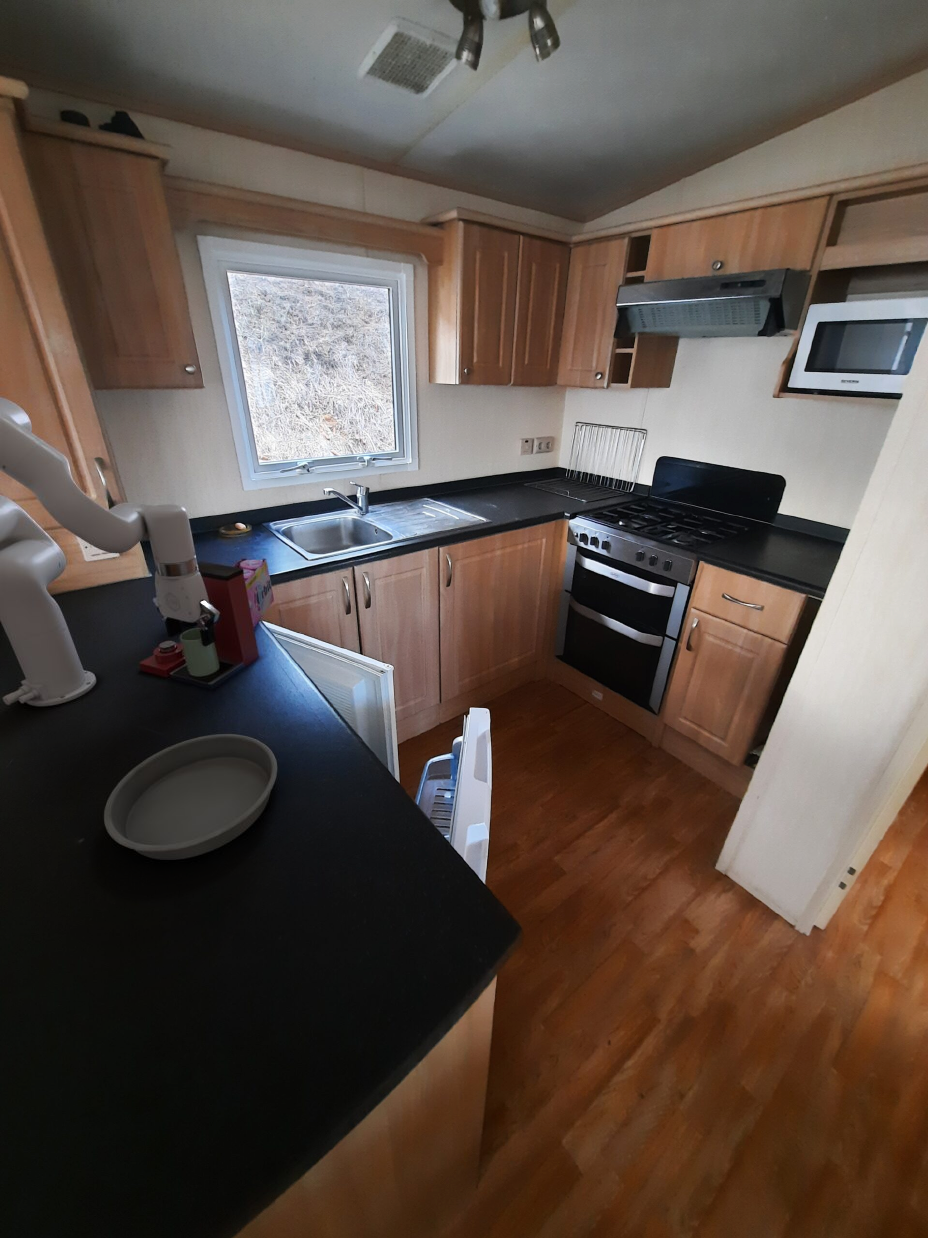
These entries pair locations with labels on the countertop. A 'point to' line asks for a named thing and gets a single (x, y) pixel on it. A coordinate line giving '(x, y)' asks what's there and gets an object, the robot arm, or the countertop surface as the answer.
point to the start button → (167, 647)
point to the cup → (198, 654)
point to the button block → (164, 661)
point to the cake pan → (192, 796)
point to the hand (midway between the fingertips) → (192, 639)
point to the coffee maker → (226, 625)
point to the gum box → (257, 586)
